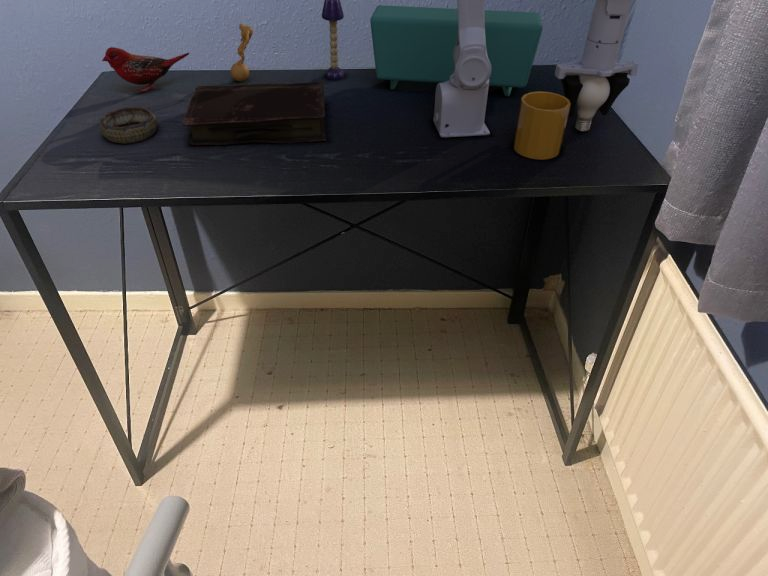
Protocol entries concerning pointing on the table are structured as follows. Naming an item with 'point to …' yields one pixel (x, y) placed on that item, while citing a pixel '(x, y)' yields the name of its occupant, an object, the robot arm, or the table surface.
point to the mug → (541, 125)
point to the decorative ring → (126, 116)
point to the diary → (257, 114)
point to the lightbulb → (590, 99)
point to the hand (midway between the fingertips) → (585, 114)
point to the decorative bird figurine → (139, 67)
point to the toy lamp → (333, 35)
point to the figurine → (242, 55)
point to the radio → (451, 44)
